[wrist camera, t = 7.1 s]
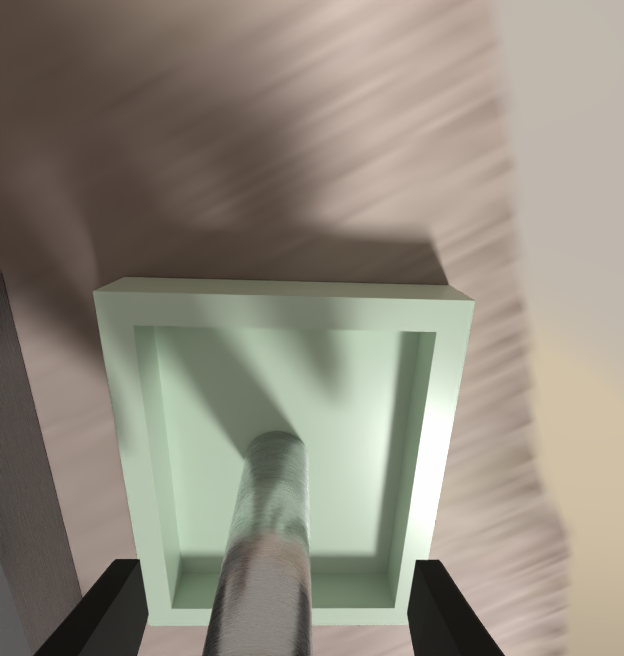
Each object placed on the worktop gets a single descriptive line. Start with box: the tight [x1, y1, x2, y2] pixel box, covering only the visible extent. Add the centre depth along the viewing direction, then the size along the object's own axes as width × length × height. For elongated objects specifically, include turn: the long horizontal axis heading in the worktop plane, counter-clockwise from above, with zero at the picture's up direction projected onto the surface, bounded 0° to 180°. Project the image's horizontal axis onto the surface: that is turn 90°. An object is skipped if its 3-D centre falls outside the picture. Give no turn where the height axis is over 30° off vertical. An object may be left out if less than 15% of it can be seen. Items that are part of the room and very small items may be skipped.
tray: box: [93, 277, 475, 626], centre depth 14 cm, size 14×11×2 cm
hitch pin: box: [202, 431, 313, 656], centre depth 10 cm, size 4×4×9 cm
